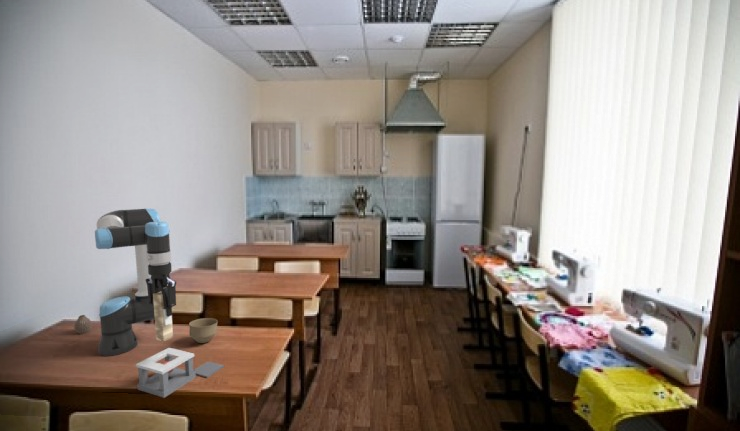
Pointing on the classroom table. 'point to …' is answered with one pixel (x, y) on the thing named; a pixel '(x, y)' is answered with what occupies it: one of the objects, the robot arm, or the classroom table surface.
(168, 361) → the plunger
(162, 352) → the grey open box frame
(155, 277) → the robot arm
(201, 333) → the bowl
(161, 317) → the light wooden bar
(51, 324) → the classroom table surface
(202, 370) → the pad
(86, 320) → the brown rounded lump
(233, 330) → the classroom table surface
